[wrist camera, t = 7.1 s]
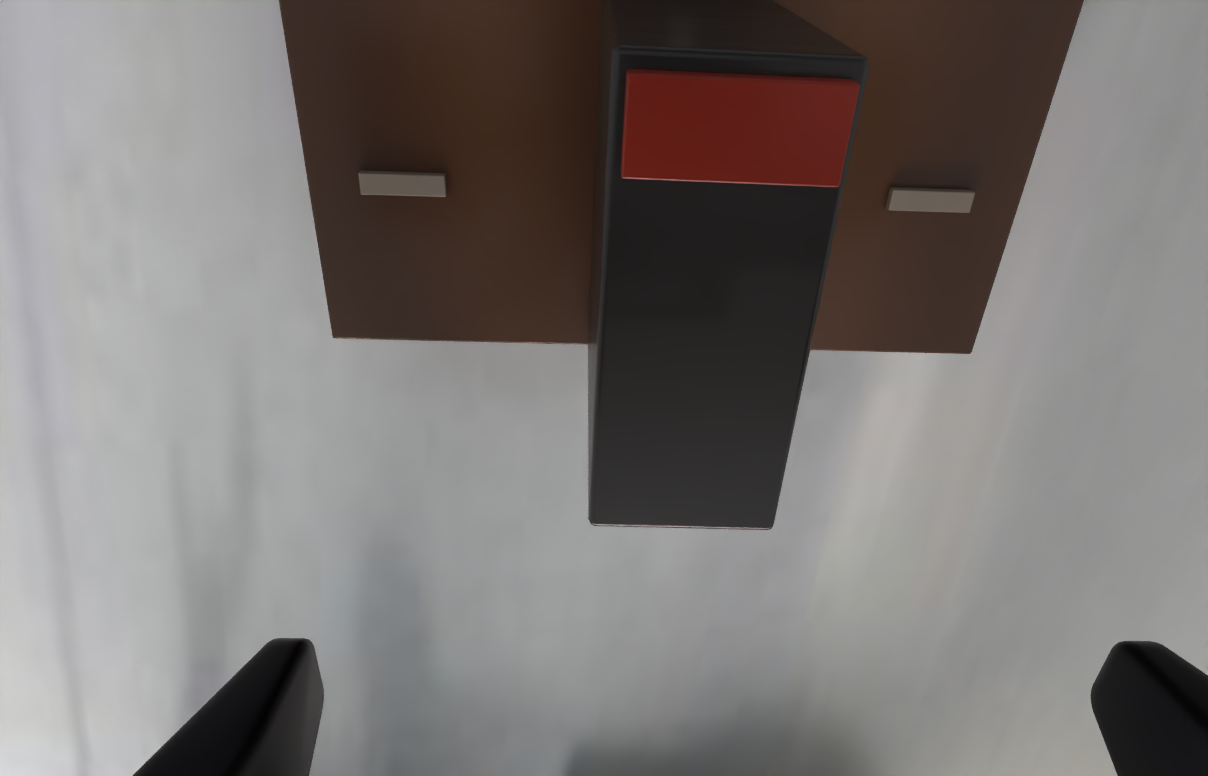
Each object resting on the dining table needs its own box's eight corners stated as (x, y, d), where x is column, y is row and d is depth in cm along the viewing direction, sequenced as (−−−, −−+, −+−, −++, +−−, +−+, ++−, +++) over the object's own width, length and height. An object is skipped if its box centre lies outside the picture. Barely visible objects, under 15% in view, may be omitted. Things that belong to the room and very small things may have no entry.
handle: (721, 351, 15) (777, 545, 11) (587, 346, 15) (587, 541, 10) (771, -4, 12) (883, 62, 7) (603, -12, 12) (611, 49, 7)
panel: (380, 357, 18) (345, 437, 16) (291, -341, 12) (207, -406, 9) (894, 369, 19) (946, 449, 16) (1072, -300, 13) (1205, -351, 10)
